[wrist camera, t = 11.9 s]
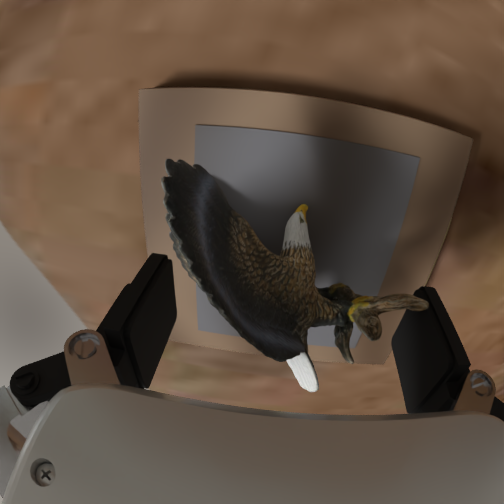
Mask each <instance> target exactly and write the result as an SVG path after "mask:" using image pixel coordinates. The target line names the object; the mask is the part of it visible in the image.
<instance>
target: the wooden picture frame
mask: <svg viewBox="0 0 504 504" xmlns="http://www.w3.org/2000/svg"><path fill="white" fill-rule="evenodd" d="M472 143H473V139H472V138H470V137H468V136H466V135H463V134H461V133H459V132H456V131H453V130H450V129H447V128H445V127H442V126H438V125H435V124H432V123H429V122H426V121H423V120H419V119H416V118H412V117H409V116H405V115H401V114H398V113H394V112H390V111H386V110H382V109H378V108H373V107H369V106H364V105H360V104H355V103H350V102H345V101H339V100H334V99H328V98H322V97H316V96H309V95H302V94H294V93H286V92H277V91H267V90H256V89H242V88H222V87H158V88H147V89H139V152H140V174H141V190H142V204H143V216H144V226H145V236H146V245H147V254H148V258H149V256H150V255H151V254H152V253H158V254H165V255H167V256H168V259H171V260H172V263H173V274H174V286H175V296H176V306H177V319H176V322H175V324H174V327H173V329H172V332H171V334H170V337H169V339H168V340H171V341H176V342H181V343H186V344H192V345H197V346H203V347H209V348H215V349H221V350H228V351H234V352H241V353H249V354H256V355H264V354H263V353H262V352H260V351H258V350H257V349H256V348H255V347H254V346H253V345H251V344H250V343H248V342H247V341H246V340H245V339H244V338H242V337H241V336H240V335H239V333H238V332H237V331H236V330H235V329H234V328H233V327H232V326H231V325H230V324H229V322H228V321H226V319H225V318H224V317H223V316H222V315H220V313H219V311H218V310H217V309H216V308H215V307H213V306H212V305H211V304H210V302H209V300H208V298H207V295H206V293H205V292H203V291H202V290H201V289H200V288H199V287H198V285H197V283H196V282H195V281H194V280H193V279H191V278H190V277H189V276H188V272H187V271H186V270H185V269H184V268H183V267H182V264H181V261H180V260H179V259H178V258H177V256H176V252H175V251H174V250H173V244H174V242H173V241H172V240H171V238H170V236H169V232H171V230H170V228H169V225H168V224H167V221H166V219H165V215H166V213H168V211H167V210H166V208H165V206H164V203H163V199H164V196H165V193H164V190H163V188H162V184H161V178H163V177H164V176H166V177H168V174H167V173H166V169H165V160H166V159H169V158H170V159H172V160H173V161H175V162H177V160H179V159H181V160H184V161H185V162H187V163H188V164H189V165H191V166H192V167H193V164H199V165H201V166H202V167H203V168H204V169H206V171H207V172H208V173H209V174H210V175H211V176H212V177H213V178H214V180H215V181H216V182H217V184H218V185H219V187H220V188H221V190H222V191H223V193H224V194H225V196H226V198H227V201H228V203H229V205H230V206H231V207H232V209H234V210H235V211H236V212H237V213H238V214H240V215H241V216H242V217H243V218H244V219H245V220H246V221H247V222H248V223H249V225H250V226H251V227H252V229H253V231H254V232H255V234H256V235H257V237H258V238H259V240H260V241H261V242H262V244H263V245H264V246H265V247H266V248H267V249H268V250H269V251H270V252H272V253H273V254H276V255H278V256H280V254H281V250H282V247H283V242H284V235H285V228H286V225H287V222H288V220H289V219H290V217H291V216H292V215H293V214H294V213H295V211H296V210H297V208H298V207H299V206H300V205H302V204H306V205H307V206H308V210H307V211H306V222H307V228H308V235H309V240H310V244H311V249H312V253H313V256H314V264H315V272H316V278H315V286H316V287H317V288H325V287H330V286H331V285H333V284H338V283H343V284H344V285H347V286H349V287H350V289H351V290H353V292H354V293H355V294H359V295H362V296H378V297H384V296H387V295H390V294H410V295H413V294H414V292H415V290H417V289H419V288H420V287H421V286H426V283H427V281H428V279H429V277H430V274H431V272H432V270H433V267H434V265H435V262H436V260H437V258H438V255H439V253H440V250H441V247H442V245H443V242H444V240H445V237H446V234H447V232H448V229H449V226H450V223H451V220H452V219H451V217H452V214H453V211H454V208H455V205H456V202H457V199H458V196H459V192H460V189H461V186H462V182H463V179H464V175H465V171H466V167H467V164H468V160H469V156H470V151H471V147H472ZM405 311H406V309H403V310H394V311H389V312H385V313H382V314H380V315H378V317H379V319H380V321H381V325H382V334H381V337H380V339H379V340H377V341H370V340H369V339H368V338H367V337H366V336H365V335H364V334H363V333H362V332H361V331H360V330H359V329H358V327H357V325H356V323H355V322H353V331H352V334H351V337H350V343H349V348H350V352H351V354H352V357H353V360H354V363H357V364H384V363H385V361H386V360H387V358H388V356H389V354H390V353H391V351H392V346H391V340H392V337H393V335H394V333H395V331H396V329H397V327H398V325H399V323H400V321H401V319H402V317H403V315H404V313H405ZM334 329H335V325H331V326H328V325H327V326H319V327H310V328H309V329H308V336H307V344H308V354H309V356H310V358H311V360H312V361H325V362H339V363H349V362H347V361H345V359H344V358H343V356H342V354H341V352H340V350H339V348H338V347H337V346H336V345H335V335H334ZM264 356H265V355H264Z"/></svg>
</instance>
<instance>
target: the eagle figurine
mask: <svg viewBox="0 0 504 504" xmlns="http://www.w3.org/2000/svg"><path fill="white" fill-rule="evenodd" d="M165 169H166V173H167V174H168V177H166V176H164V177H163V178H161V184H162V188H163V190H164V193H165V196H164V199H163V203H164V206H165V208H166V210H167V211H168V213H166V215H165V219H166V221H167V224H168V225H169V228H170V230H171V232H169V236H170V238H171V240H172V241H173V242H174V244H173V250H174V251H175V252H176V256H177V258H178V259H179V260H180V261H181V264H182V267H183V268H184V269H185V270H186V271H187V272H188V276H189V277H190V278H191V279H193V280H194V281H195V282H196V283H197V285H198V287H199V288H200V289H201V290H202V291H203V292H205V293H206V295H207V298H208V300H209V302H210V304H211V305H212V306H213V307H215V308H216V309H217V310H218V311H219V313H220V315H222V316H223V317H224V318H225V319H226V321H228V322H229V324H230V325H231V326H232V327H233V328H234V329H235V330H236V331H237V332H238V333H239V335H240V336H241V337H242V338H244V339H245V340H246V341H247V342H248V343H250V344H251V345H253V346H254V347H255V348H256V349H257V350H258V351H260V352H262V353H263V354H264V355H265V356H267V357H270V358H272V359H274V360H276V361H279V362H283V361H287V362H288V364H289V366H290V367H291V369H292V371H293V373H294V375H295V377H296V379H297V380H298V382H299V384H300V386H301V387H302V388H303V389H306V390H308V391H309V392H316V391H317V390H318V389H319V383H318V378H317V374H316V372H315V369H314V365H313V363H312V361H311V358H310V356H309V354H308V344H307V336H308V329H309V328H310V327H319V326H327V325H328V326H331V325H335V329H334V335H335V345H336V346H337V347H338V348H339V350H340V352H341V354H342V356H343V358H344V359H345V361H347V362H349V363H351V364H353V363H354V360H353V357H352V354H351V352H350V348H349V343H350V337H351V334H352V331H353V322H355V323H356V325H357V327H358V329H359V330H360V331H361V332H362V333H363V334H364V335H365V336H366V337H367V338H368V339H369V340H370V341H377V340H379V339H380V337H381V334H382V325H381V321H380V319H379V317H378V315H380V314H382V313H385V312H389V311H394V310H403V309H409V310H412V311H423V310H426V309H428V307H429V303H428V302H427V301H426V300H424V299H421V298H418V297H416V296H414V295H410V294H390V295H387V296H384V297H378V296H362V295H359V294H355V293H354V292H353V290H351V289H350V287H349V286H347V285H344V284H343V283H338V284H333V285H331V286H330V287H325V288H317V287H316V286H315V278H316V272H315V264H314V256H313V253H312V249H311V244H310V240H309V235H308V228H307V222H306V211H307V210H308V206H307V205H306V204H302V205H300V206H299V207H298V208H297V210H296V211H295V213H294V214H293V215H292V216H291V217H290V219H289V220H288V222H287V225H286V228H285V235H284V242H283V247H282V250H281V254H280V256H278V255H276V254H273V253H272V252H270V251H269V250H268V249H267V248H266V247H265V246H264V245H263V244H262V242H261V241H260V240H259V238H258V237H257V235H256V234H255V232H254V231H253V229H252V227H251V226H250V225H249V223H248V222H247V221H246V220H245V219H244V218H243V217H242V216H241V215H240V214H238V213H237V212H236V211H235V210H234V209H232V207H231V206H230V205H229V203H228V201H227V198H226V196H225V194H224V193H223V191H222V190H221V188H220V187H219V185H218V184H217V182H216V181H215V180H214V178H213V177H212V176H211V175H210V174H209V173H208V172H207V171H206V169H204V168H203V167H202V166H201V165H199V164H193V167H192V166H191V165H189V164H188V163H187V162H185V161H184V160H181V159H179V160H177V162H175V161H173V160H172V159H170V158H169V159H166V160H165Z"/></svg>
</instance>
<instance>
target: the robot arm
mask: <svg viewBox="0 0 504 504" xmlns="http://www.w3.org/2000/svg"><path fill="white" fill-rule="evenodd" d="M413 295H414V296H416V297H418V298H421V299H424V300H426V301H427V302H428V303H429V307H428V309H426V310H423V311H412V310H409V309H406V311H405V313H404V315H403V317H402V319H401V321H400V323H399V325H398V327H397V329H396V331H395V333H394V335H393V337H392V340H391V346H392V350H393V354H394V357H395V361H396V365H397V369H398V374H399V378H400V382H401V387H402V391H403V396H404V400H405V405H406V410H407V412H408V413H409V414H396V415H326V414H306V413H292V412H281V411H271V410H261V409H253V408H245V407H238V406H231V405H224V404H218V403H212V402H206V401H201V400H195V399H190V398H184V397H179V396H174V395H169V394H165V393H160V392H155V391H151V390H146V389H144V388H149V386H150V384H151V381H152V379H153V376H154V374H155V371H156V369H157V366H158V364H159V361H160V359H161V356H162V354H163V351H164V349H165V346H166V344H167V341H168V339H169V337H170V334H171V332H172V329H173V327H174V324H175V322H176V319H177V306H176V296H175V286H174V274H173V263H172V260H171V259H168V256H167V255H165V254H158V253H152V254H151V255H150V256H149V258H148V259H147V260H146V262H145V263H144V265H143V266H142V268H141V269H140V271H139V272H138V274H137V275H136V277H135V278H134V280H133V281H132V283H131V284H127V285H126V286H125V287H124V288H123V290H122V291H121V293H120V294H119V296H118V297H117V299H116V300H115V302H114V304H113V305H112V307H111V308H110V310H109V311H108V313H107V314H106V316H105V318H104V319H103V321H102V322H101V324H100V325H99V327H98V329H97V330H96V331H94V330H88V329H85V330H80V331H78V332H75V333H74V334H72V335H71V336H70V337H69V338H68V339H67V340H66V342H65V345H64V352H61V353H59V354H56V355H53V356H50V357H48V358H45V359H42V360H39V361H37V362H34V363H31V364H28V365H25V366H23V367H21V368H19V369H18V370H17V371H15V372H14V374H13V375H12V377H11V380H10V386H8V387H7V388H6V387H5V386H2V387H1V388H0V495H1V496H2V498H3V501H2V504H504V403H503V402H502V401H500V400H499V399H497V398H496V397H495V392H496V388H495V383H494V381H493V379H492V378H491V377H490V376H489V375H488V374H487V373H486V372H484V371H482V370H472V371H471V372H470V370H469V367H470V365H471V364H470V361H469V359H468V357H467V354H466V352H465V350H464V347H463V345H462V343H461V340H460V338H459V336H458V334H457V332H456V329H455V327H454V325H453V323H452V321H451V319H450V317H449V315H448V313H447V311H446V309H445V307H444V305H443V303H442V301H441V299H440V297H439V295H438V293H437V291H436V289H435V288H433V287H425V286H421V287H420V288H419V289H417V290H415V292H414V294H413Z"/></svg>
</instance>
